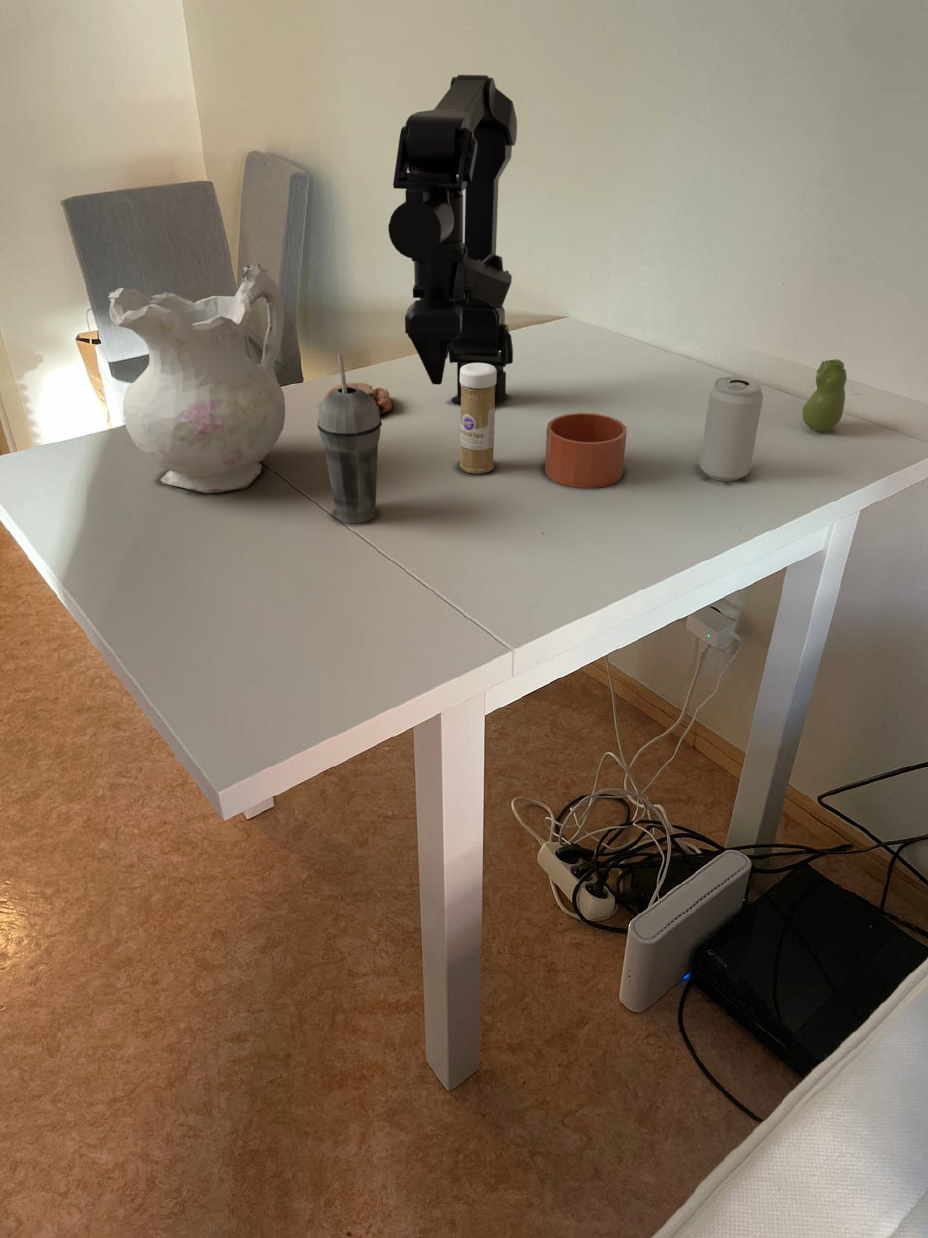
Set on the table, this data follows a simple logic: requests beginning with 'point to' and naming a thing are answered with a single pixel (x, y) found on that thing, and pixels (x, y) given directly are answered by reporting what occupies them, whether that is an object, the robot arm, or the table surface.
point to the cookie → (371, 395)
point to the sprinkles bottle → (477, 417)
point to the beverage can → (731, 428)
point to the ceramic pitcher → (204, 384)
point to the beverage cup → (351, 449)
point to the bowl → (585, 450)
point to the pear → (826, 397)
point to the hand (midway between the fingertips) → (440, 370)
